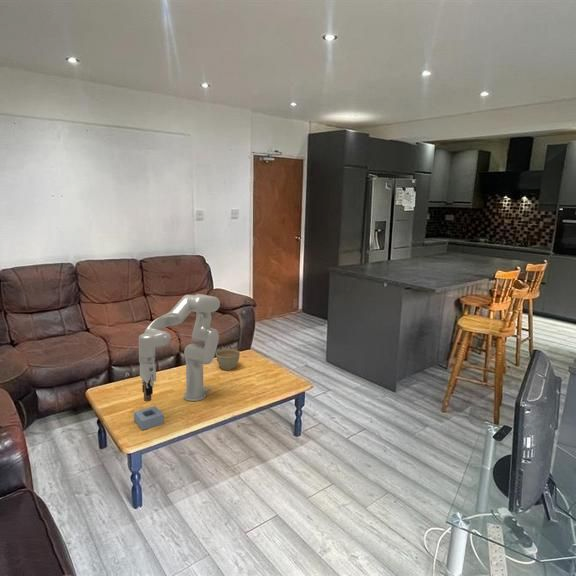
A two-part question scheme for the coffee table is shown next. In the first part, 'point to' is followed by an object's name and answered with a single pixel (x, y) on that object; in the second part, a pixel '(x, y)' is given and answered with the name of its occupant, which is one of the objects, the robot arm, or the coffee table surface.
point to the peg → (146, 398)
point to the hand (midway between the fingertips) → (147, 393)
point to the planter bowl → (227, 358)
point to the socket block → (148, 417)
